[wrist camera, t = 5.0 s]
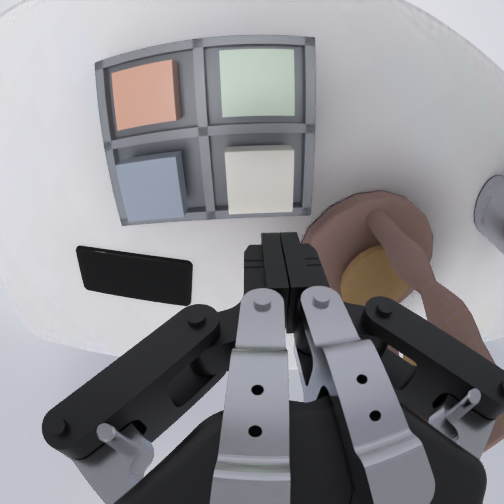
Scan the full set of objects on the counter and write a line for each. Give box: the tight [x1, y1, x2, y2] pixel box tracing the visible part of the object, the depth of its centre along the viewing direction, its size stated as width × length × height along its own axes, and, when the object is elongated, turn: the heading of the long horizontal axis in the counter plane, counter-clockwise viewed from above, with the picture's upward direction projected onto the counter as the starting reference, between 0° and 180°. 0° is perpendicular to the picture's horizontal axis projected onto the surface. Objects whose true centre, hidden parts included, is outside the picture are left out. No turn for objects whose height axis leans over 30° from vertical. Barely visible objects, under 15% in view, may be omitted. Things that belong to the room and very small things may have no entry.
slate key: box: [116, 151, 188, 222], centre depth 21 cm, size 5×5×2 cm
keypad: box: [95, 35, 316, 226], centre depth 21 cm, size 18×16×2 cm
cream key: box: [225, 145, 294, 215], centre depth 21 cm, size 5×5×2 cm
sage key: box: [219, 49, 295, 118], centre depth 16 cm, size 5×5×2 cm
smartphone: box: [76, 246, 193, 306], centre depth 31 cm, size 7×1×15 cm
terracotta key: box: [111, 59, 182, 131], centre depth 18 cm, size 5×5×2 cm
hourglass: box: [301, 191, 504, 452], centre depth 20 cm, size 18×18×25 cm
